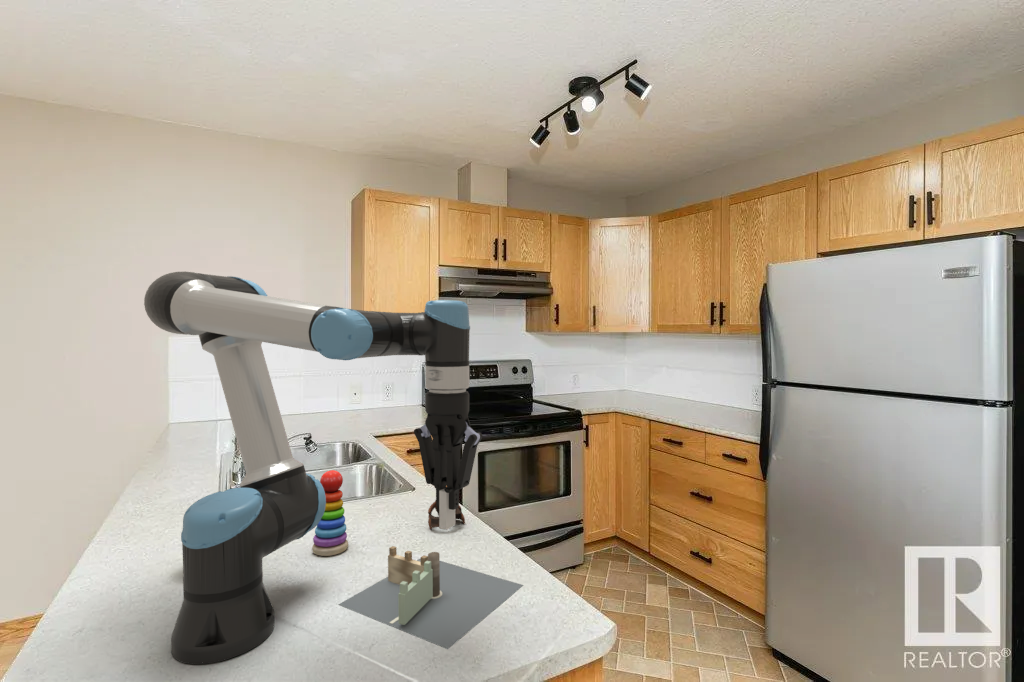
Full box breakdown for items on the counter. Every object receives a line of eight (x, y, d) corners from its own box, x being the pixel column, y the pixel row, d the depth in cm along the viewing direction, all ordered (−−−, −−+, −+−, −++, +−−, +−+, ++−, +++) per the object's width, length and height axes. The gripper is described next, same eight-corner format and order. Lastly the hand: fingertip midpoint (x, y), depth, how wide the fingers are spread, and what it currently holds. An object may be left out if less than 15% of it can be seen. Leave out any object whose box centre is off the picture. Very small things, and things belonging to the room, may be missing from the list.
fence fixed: (442, 593, 99) (441, 553, 99) (434, 598, 97) (434, 557, 97) (394, 577, 105) (393, 539, 105) (386, 581, 104) (386, 543, 103)
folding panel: (427, 595, 97) (426, 559, 97) (432, 596, 97) (432, 560, 97) (398, 623, 88) (398, 584, 88) (404, 625, 87) (404, 585, 87)
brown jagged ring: (473, 528, 134) (463, 506, 131) (442, 550, 131) (431, 528, 127) (454, 504, 144) (444, 483, 141) (425, 523, 141) (414, 502, 137)
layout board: (447, 652, 81) (447, 648, 81) (338, 607, 95) (338, 603, 95) (523, 587, 102) (523, 584, 102) (424, 558, 115) (424, 555, 115)
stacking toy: (336, 558, 116) (336, 476, 115) (305, 556, 117) (304, 474, 117) (354, 544, 123) (353, 467, 123) (324, 542, 125) (323, 465, 125)
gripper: (403, 390, 88) (403, 527, 88) (467, 395, 81) (467, 541, 82) (430, 386, 94) (430, 513, 95) (491, 390, 88) (490, 526, 89)
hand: (447, 526), depth 88 cm, fingers closed
